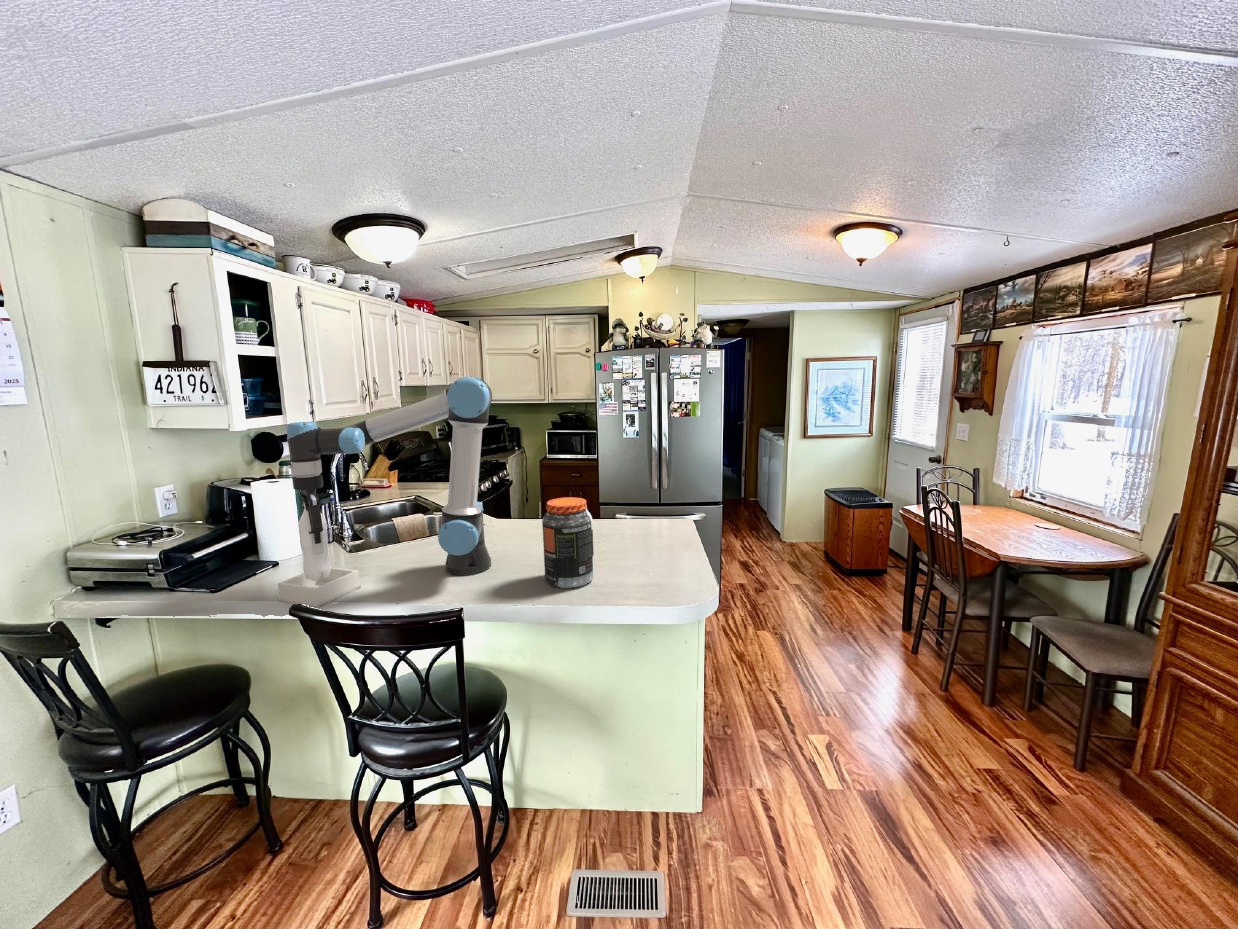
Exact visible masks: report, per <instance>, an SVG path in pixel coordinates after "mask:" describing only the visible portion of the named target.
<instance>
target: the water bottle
mask: <svg viewBox="0 0 1238 929" xmlns="http://www.w3.org/2000/svg"><path fill="white" fill-rule="evenodd" d="M303 506H304V512H303V511H302V514H301V516H300V519H299V520H298V525H297V526H298V530H299V538H300V545H301V548H302V554H303V573H304V574H305V576H306V578H307V579H309V580H310V579H311V580H313V581H317V580H319V577H320V576H322V577H323V578H327V577H328V576H329V574H330V572H331V567H332V562H331V560H330V555H329V547H328V546H329V535H328V528H327V524H328V523H327V520H326V518H325V516H324V514H323V513H322V512H321V519H322V526H323V531H322V538H323V547H324V553H321V554H316V555H313V549H312V540H311V534H309V532H311V526H310V520H309V515H308V511H306V509H305V504H303ZM317 528H319V527H317Z"/></svg>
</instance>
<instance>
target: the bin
mask: <svg viewBox="0 0 1238 929" xmlns="http://www.w3.org/2000/svg"><path fill="white" fill-rule="evenodd" d="M360 588H361V579H360V571H359V570H356V569H349V568H340V567H335V566H334V567H333V566H331V572H330V574H329V576H328V577H327V578H323V577H322V576H320V577H319V580H317V581H313V580H311V579H310V580H309V579H307V578H306V576H305V574H304V572H303V573H301V574H298V575H295V576H292V577H291V578H288V579H286V580H283V581H281V582H278V583H277V590H278V598H279V602H280V603H281V602H283V603H288V604H293V605H298V604H305V605H309V606H308V607H310V606H313V607H312V608H316V607H317V609H319V608H321V607H323V606H325V605H327V604H329V603H332V602H334V601H335V600H338V599H339V598H341V597H344V596H347V595H349V594H350V593H352V592H354V591H357V590H359V589H360Z"/></svg>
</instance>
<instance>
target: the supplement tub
mask: <svg viewBox="0 0 1238 929" xmlns="http://www.w3.org/2000/svg"><path fill="white" fill-rule="evenodd" d="M545 508H546V512H545V514H544V515H543V517H542V521H541V524H542V525H541V526H542V542H543V543H542V544H543V559H544V560H543V561H544V578H545V581H546V582H547V584H548V585H550V584H551V585H550V586H552V587H555V586H556V587H555V588H559V587H560V589H572V587H573V588H577V587H582V586H585V585H587V583H588V584H590V583H591V582H592V581H593V580H594V577H595V558H594V555H595V554H594V553H595V552H594V528H593V527H594V526H593V524H594V523H593V516H592V514H591V512H589V510H588V504H587V500H586V499H585V498H582V497H573V496H572V497H571V496H570V497H569V496H568V497H566V496H565V497H559V498H557V497H556V498H553V499H550V500H548V501H547V502H546V507H545Z"/></svg>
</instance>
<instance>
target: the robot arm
mask: <svg viewBox="0 0 1238 929" xmlns="http://www.w3.org/2000/svg"><path fill="white" fill-rule="evenodd" d="M492 401H493V392H492V390H491V388H490V385H489V384H488V383H487V382H486V381H485V380H483V379H481V378H477V377H473V376H464V377H463V376H462V377H460V378H458V379H456V380H455V381H453V383H452V384H450V387H449V388H446V389H445V390H444V391H443V393H441V394H439V395H438V394H437V395H436V396H431V397H430V398H427V399H424V400H420V401H418V402H415V403H411V404H409V405H406V406H404V407H401V408H398V409H394V410H392V411H391V410H390V411H389V412H386V413H383V414H379V415H377V416H374V417H371V418H368V419H366V420H362V421H359V422H357V423H353V424H350V425H345V426H343V427H336V428H335V427H334V428H319V427H318V425H317V423H316V422H315V421H299V422H298V421H297V422H295V421H294V422H290V423H288V424H287V425H286V436H287V437H286V440H287V447H288V453H289V461H290V464H291V465H288V469H290V470H291V475H292V476H293V477H292V478H291V480H292V486H293V488H292V489H294V490H295V491H299V492H300V500H301V506H302V513H303V512H304V506H303V504H305V509H306V511H308V515H309V520H310V526H311V532H309V534H311V540H312V549H313V555H316V554H321V553H324V547H323V538H322V531H323V526H322V519H321V513H322V512H321V507H320V506H321V505H320V500H321V499H320V497H319V494H318V493H317V492H316V490H317V489H321V488H323V487H324V479H323V475H322V473H323V469H322V468H323V466H322V460H321V455H337V454H338V455H343V454H346V455H351V454H352V455H353V454H359V453H362V452H363V451H364V449H365V447H367V446H369V445H372V444H374V443H377V442H380V441H384V440H386V439H389V438H392V437H396V436H397V435H401V434H404V433H407V432H410V431H412V430H416V429H418V428H422V427H423V426H427V425H430V424H433V423H435V422H438V421H442V420H444V419H447V421H448V422H449V423H450V425H451V426H452V437H451V453H450V467H449V480H448V481H449V483H448V495H447V496H448V497H447V504H446V505H444V506H443V507H442V509H441V510H442V511H441V524H440V528H439V530H438V533H437V540H438V544H439V546H440V548H441V550H443V551H444V552H446V553H447V556H446V559H445V560H446V561H445V564H444V567H445V572H446V573H447V574H449V573H450V574H449V575H453V576H471V575H470V574H472V575H474V574H473V573H477V574H479V572H480V573H483V572H485V571H484V570H486V571H487V570H489V569H490V568H491V567H492V558H491V556H490V555H489V554H490V553H489V551H488V549H487V546H486V542H485V541H486V540H485V527H484V525H485V524H484V508H483V503H482V502H481V501H478V493H479V479H480V468H481V467H480V466H481V454H482V453H481V452H482V440H483V429H485V427H487V426H488V424H489V416H490V415H489V414H490V406H491V405H492ZM317 527H319V528H317ZM489 567H490V568H489ZM482 571H483V572H482Z"/></svg>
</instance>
